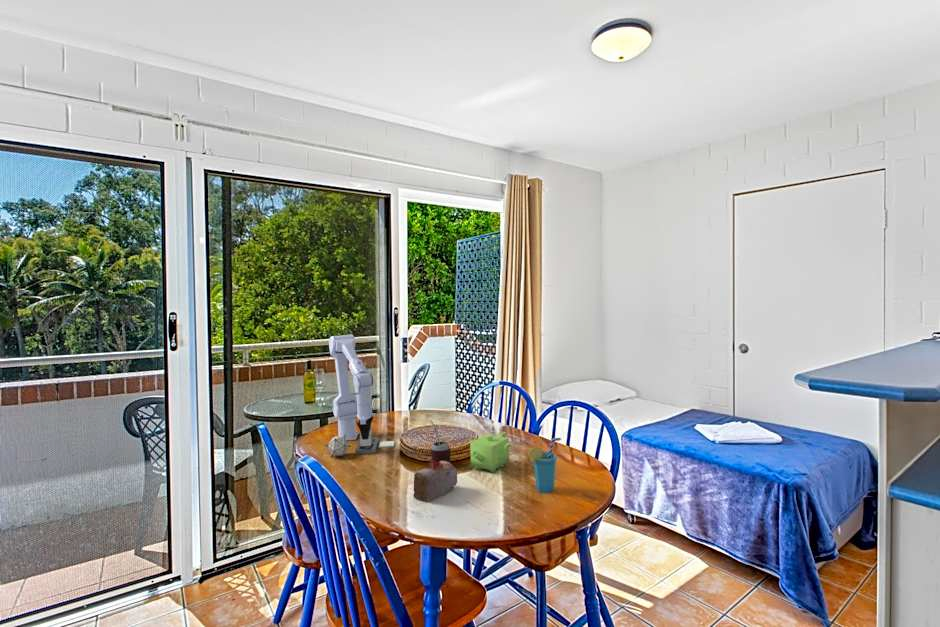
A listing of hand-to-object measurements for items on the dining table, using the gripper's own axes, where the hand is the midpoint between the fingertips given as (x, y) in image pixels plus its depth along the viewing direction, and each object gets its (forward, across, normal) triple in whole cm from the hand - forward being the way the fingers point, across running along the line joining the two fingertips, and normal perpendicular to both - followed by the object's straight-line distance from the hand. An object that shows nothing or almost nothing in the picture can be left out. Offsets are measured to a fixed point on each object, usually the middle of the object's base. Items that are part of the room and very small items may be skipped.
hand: (365, 437), depth 194 cm
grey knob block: (+3, 0, 0) cm, 3 cm away
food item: (+5, -45, -26) cm, 52 cm away
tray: (+5, +5, -8) cm, 11 cm away
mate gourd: (+5, -22, -28) cm, 36 cm away
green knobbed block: (+5, -27, -46) cm, 53 cm away
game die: (+6, -4, +10) cm, 12 cm away
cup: (+5, -48, -60) cm, 77 cm away
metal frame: (+5, +3, 0) cm, 6 cm away
